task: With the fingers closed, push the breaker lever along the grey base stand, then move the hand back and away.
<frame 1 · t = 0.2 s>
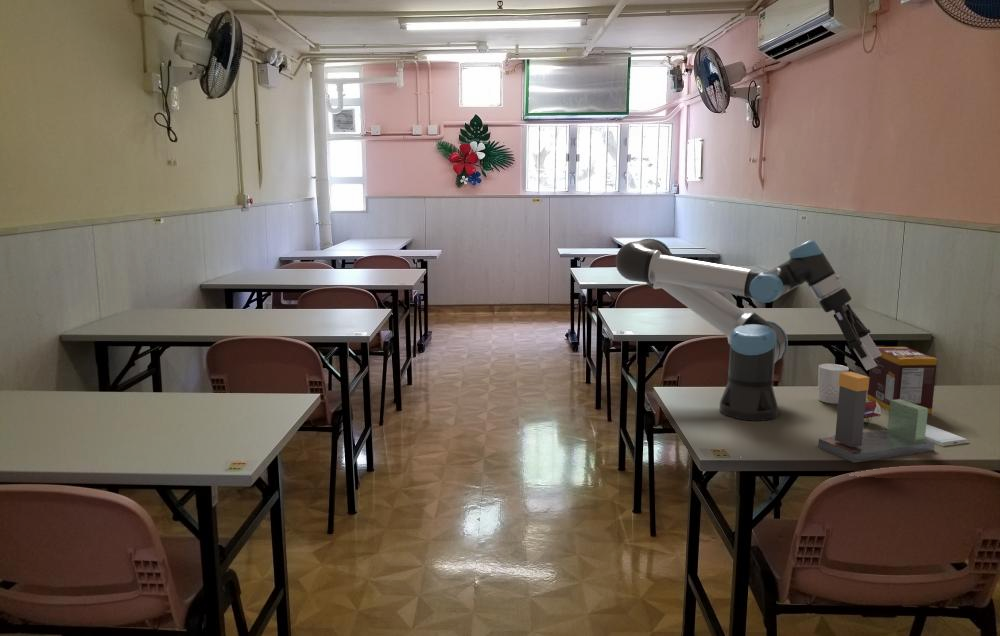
hand: (874, 362, 198), 15 cm above the table, fingers open, 13 cm apart
white cup: (830, 401, 215), on the table
geometric puzzle: (863, 423, 196), on the table
hard drive: (933, 439, 185), on the table
grey base stand: (875, 448, 176), on the table
breaker lever: (851, 409, 172), point 11 cm above the table, slide at 0.0 cm
supplement box: (897, 406, 210), on the table
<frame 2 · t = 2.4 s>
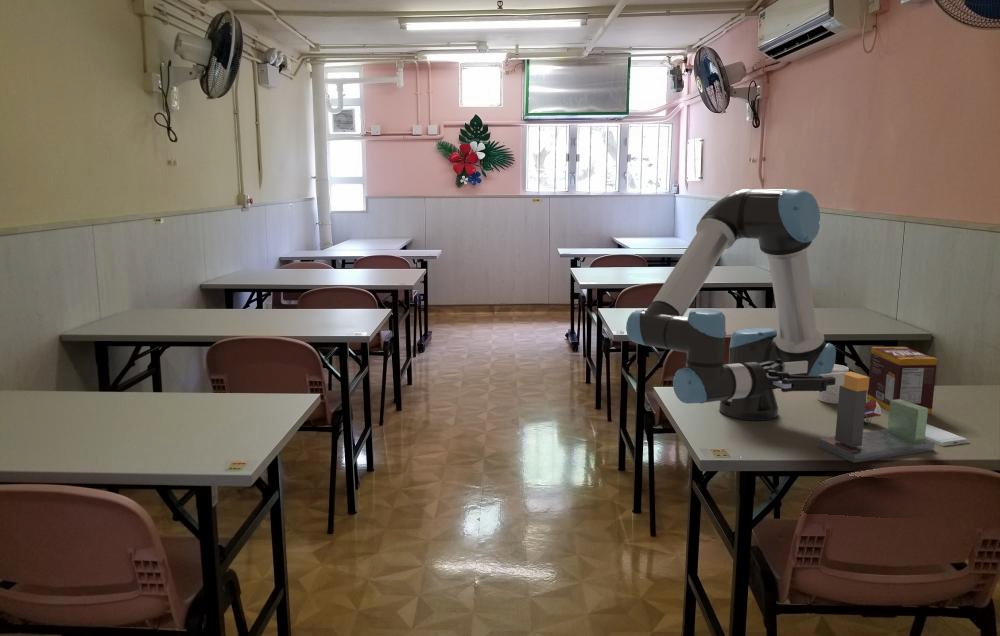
hand: (824, 372, 167), 20 cm above the table, fingers open, 10 cm apart
nothing on the table moved.
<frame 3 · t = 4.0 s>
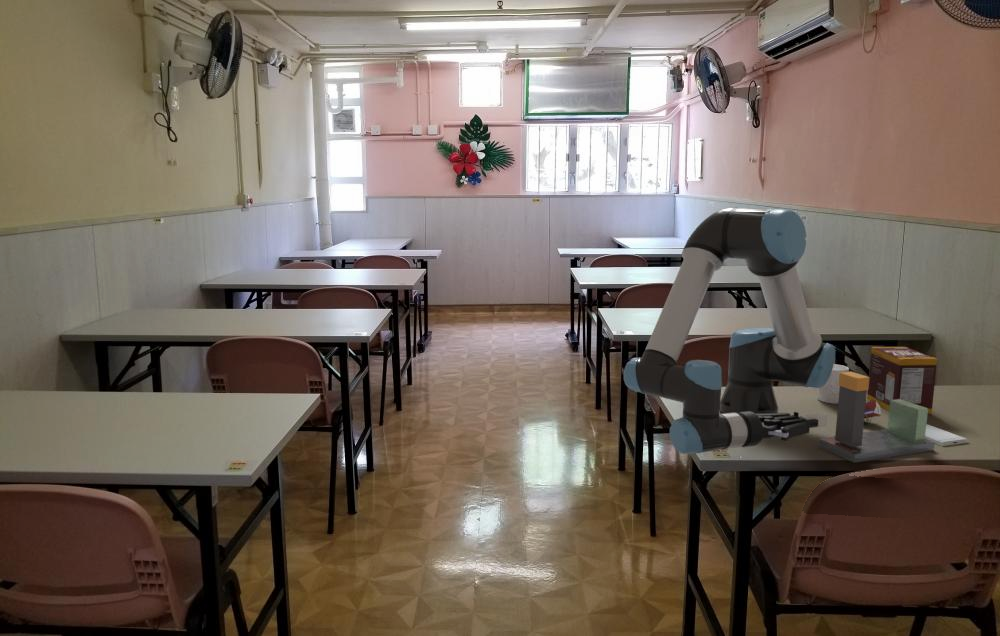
hand: (824, 419, 170), 9 cm above the table, fingers closed
nothing on the table moved.
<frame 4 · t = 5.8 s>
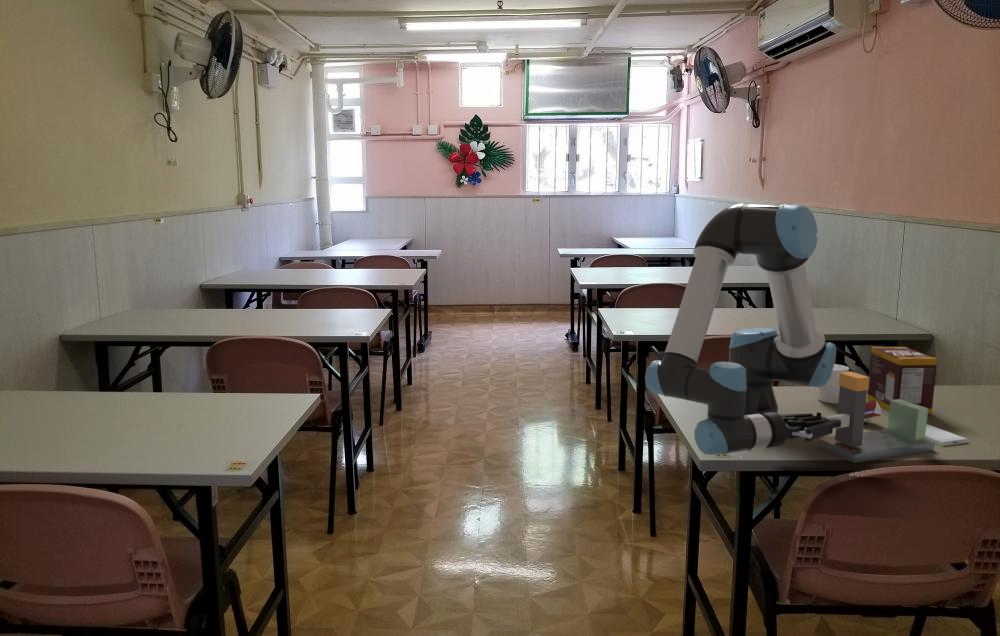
hand: (847, 419, 171), 8 cm above the table, fingers closed
breaker lever: (851, 409, 172), point 11 cm above the table, slide at 0.0 cm, touching gripper
everything else where it was.
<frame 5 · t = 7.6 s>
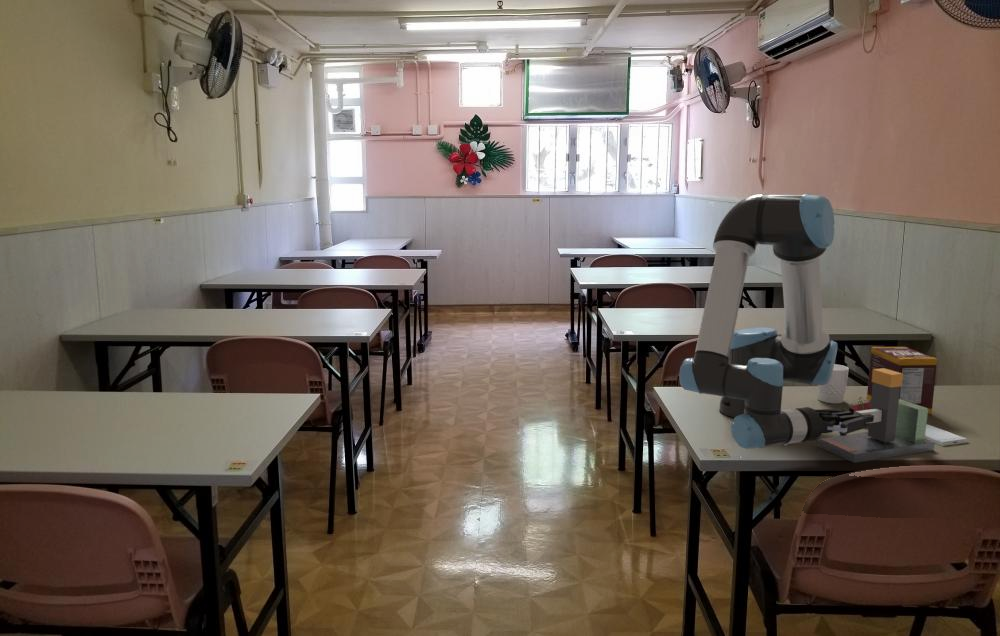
hand: (879, 415, 174), 8 cm above the table, fingers closed
breaker lever: (884, 405, 175), point 11 cm above the table, slide at 9.9 cm, touching gripper
everything else where it was.
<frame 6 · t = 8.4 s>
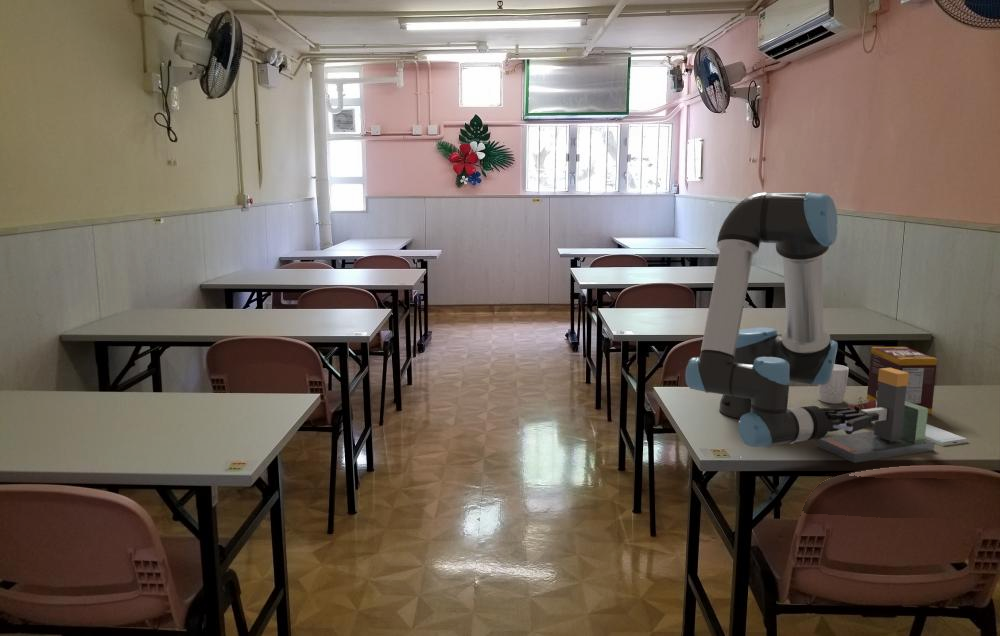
hand: (884, 413, 175), 8 cm above the table, fingers closed
breaker lever: (890, 404, 176), point 11 cm above the table, slide at 11.8 cm, touching gripper
everything else where it was.
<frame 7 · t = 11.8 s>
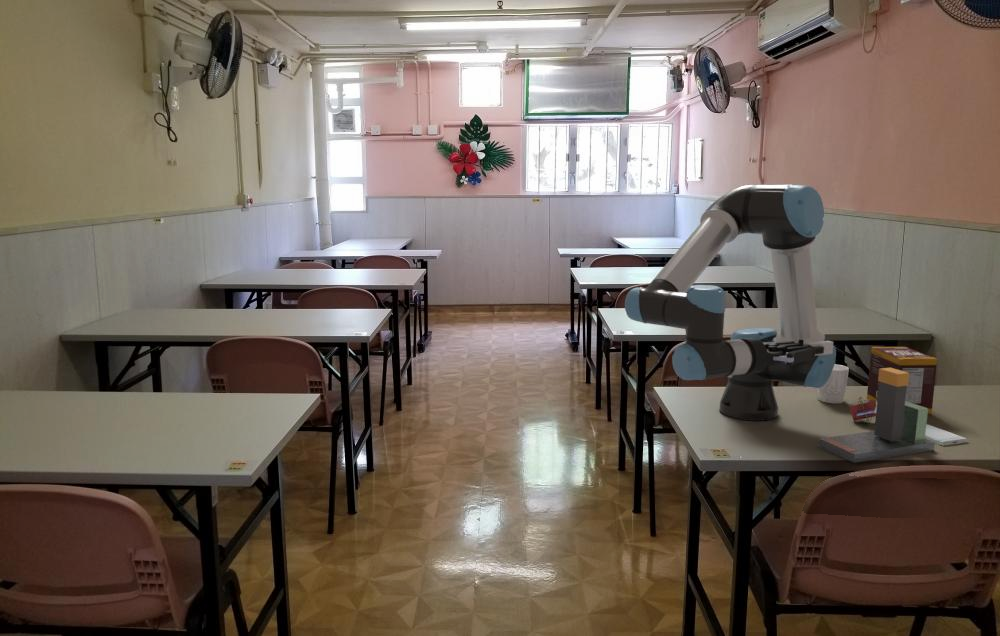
hand: (830, 347, 166), 26 cm above the table, fingers closed
breaker lever: (890, 404, 176), point 11 cm above the table, slide at 11.9 cm
everything else where it was.
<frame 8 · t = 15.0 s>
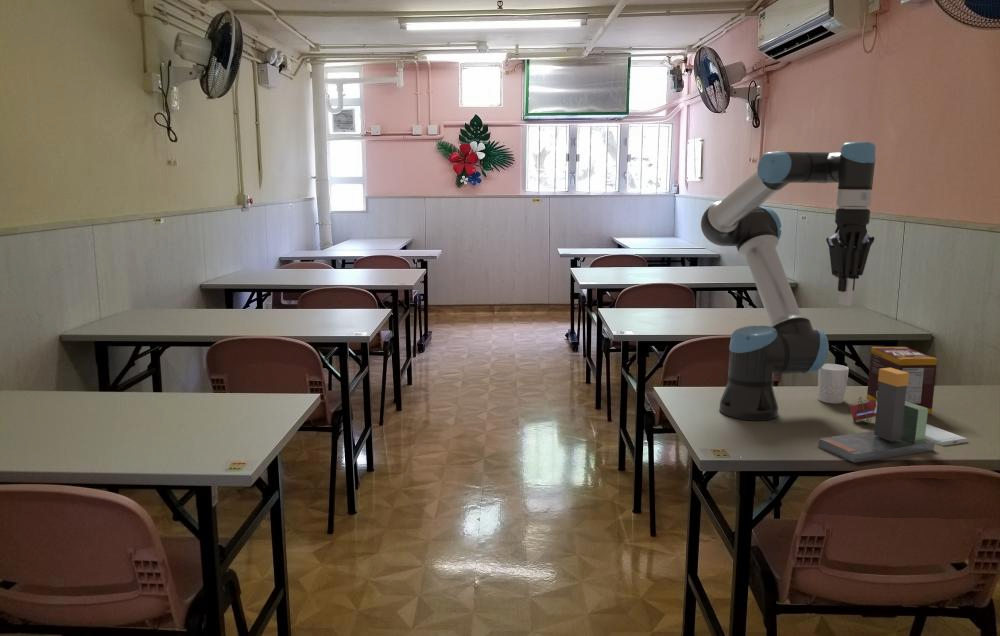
hand: (844, 304, 184), 32 cm above the table, fingers closed
nothing on the table moved.
at the end: breaker lever slide at 11.9 cm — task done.
